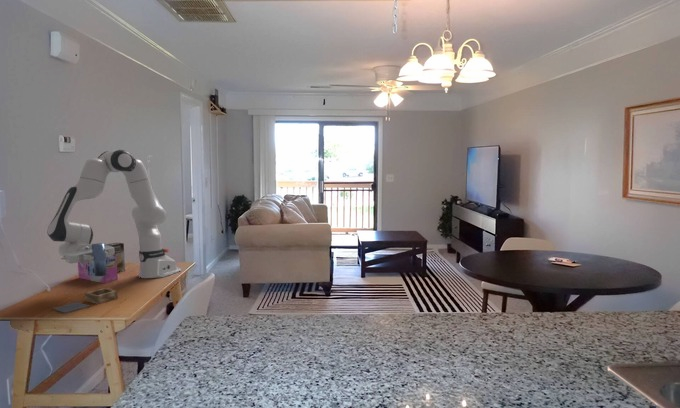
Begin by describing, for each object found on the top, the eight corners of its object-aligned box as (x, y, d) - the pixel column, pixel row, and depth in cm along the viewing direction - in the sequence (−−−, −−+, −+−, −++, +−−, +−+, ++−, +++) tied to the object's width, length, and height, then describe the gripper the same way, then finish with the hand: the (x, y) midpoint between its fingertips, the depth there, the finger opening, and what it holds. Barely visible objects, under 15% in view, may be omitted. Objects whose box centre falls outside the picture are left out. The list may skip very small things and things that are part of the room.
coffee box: (110, 274, 243) (108, 245, 241) (103, 273, 246) (101, 245, 244) (125, 270, 251) (123, 243, 249) (118, 269, 254) (116, 242, 252)
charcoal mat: (77, 302, 194) (77, 301, 194) (89, 306, 189) (89, 305, 189) (53, 309, 186) (52, 308, 185) (65, 313, 180) (65, 312, 180)
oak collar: (106, 295, 204) (105, 287, 204) (117, 298, 199) (117, 290, 199) (85, 300, 197) (85, 293, 196) (97, 304, 192) (96, 296, 191)
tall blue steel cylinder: (103, 272, 201) (100, 242, 199) (109, 274, 198) (106, 243, 196) (92, 275, 196) (89, 244, 195) (98, 276, 194) (95, 245, 192)
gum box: (76, 278, 236) (74, 253, 235) (90, 274, 243) (89, 250, 242) (104, 283, 225) (102, 257, 224) (118, 279, 232) (117, 254, 231)
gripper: (58, 250, 194) (74, 254, 187) (104, 242, 211) (120, 245, 204) (59, 264, 195) (76, 268, 188) (105, 255, 212) (121, 258, 205)
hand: (99, 256), depth 196 cm, fingers closed on tall blue steel cylinder, 5 cm apart
